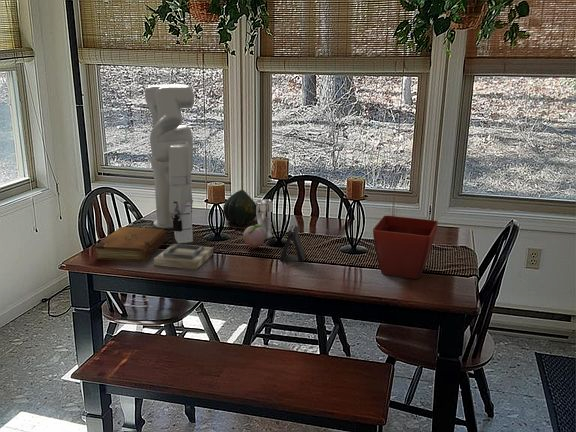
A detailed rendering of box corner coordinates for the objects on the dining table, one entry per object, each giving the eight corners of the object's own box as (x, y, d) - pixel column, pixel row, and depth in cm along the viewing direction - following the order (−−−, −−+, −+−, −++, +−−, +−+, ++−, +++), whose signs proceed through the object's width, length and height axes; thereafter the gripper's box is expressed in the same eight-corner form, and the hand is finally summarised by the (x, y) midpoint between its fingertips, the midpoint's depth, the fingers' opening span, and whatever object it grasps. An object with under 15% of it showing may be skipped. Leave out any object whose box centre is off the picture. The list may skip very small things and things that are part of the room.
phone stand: (305, 256, 216) (306, 226, 212) (303, 262, 210) (304, 231, 206) (282, 255, 217) (282, 224, 214) (279, 260, 211) (279, 229, 208)
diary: (145, 263, 209) (143, 248, 208) (95, 261, 212) (94, 246, 210) (166, 242, 231) (165, 228, 229) (121, 240, 234) (120, 226, 232)
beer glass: (274, 234, 240) (274, 199, 236) (272, 240, 233) (271, 204, 229) (257, 233, 241) (257, 198, 236) (254, 239, 234) (254, 203, 230)
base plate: (173, 249, 221) (173, 240, 220) (213, 253, 218) (212, 244, 217) (154, 264, 207) (153, 255, 206) (196, 269, 203) (195, 259, 202)
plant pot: (382, 258, 215) (384, 214, 210) (434, 265, 208) (438, 220, 203) (369, 276, 198) (372, 229, 193) (426, 285, 191) (430, 236, 186)
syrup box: (193, 241, 208) (191, 202, 204) (177, 243, 206) (175, 204, 202) (189, 237, 214) (188, 198, 209) (173, 238, 211) (171, 200, 207)
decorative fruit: (249, 243, 229) (248, 219, 227) (268, 245, 227) (268, 221, 224) (239, 250, 221) (239, 225, 218) (259, 253, 218) (259, 228, 215)
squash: (225, 218, 243) (246, 189, 245) (212, 210, 256) (232, 183, 258) (249, 235, 250) (269, 207, 252) (235, 227, 263) (254, 200, 265)
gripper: (181, 174, 213) (183, 219, 218) (159, 184, 196) (162, 234, 201) (200, 175, 211) (202, 221, 216) (180, 186, 195) (182, 235, 200)
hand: (182, 227), depth 209 cm, fingers closed on syrup box, 8 cm apart
